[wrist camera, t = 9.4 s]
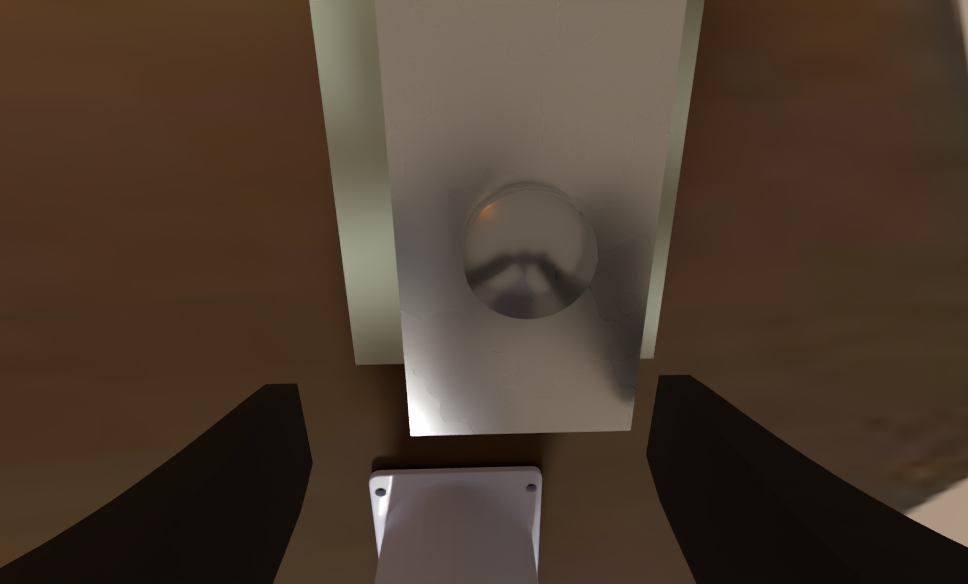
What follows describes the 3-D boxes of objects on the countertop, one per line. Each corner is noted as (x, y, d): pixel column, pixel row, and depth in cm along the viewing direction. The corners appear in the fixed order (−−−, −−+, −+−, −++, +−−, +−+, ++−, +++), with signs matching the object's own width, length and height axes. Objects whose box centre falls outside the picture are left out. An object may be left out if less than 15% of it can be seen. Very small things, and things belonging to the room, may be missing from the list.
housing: (582, 320, 17) (641, 454, 11) (427, 323, 17) (406, 461, 11) (606, 5, 13) (713, -39, 7) (409, 7, 13) (362, -38, 7)
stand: (621, 306, 21) (653, 358, 17) (375, 312, 21) (355, 364, 17) (658, -38, 16) (714, -67, 13) (339, -36, 16) (301, -65, 12)
